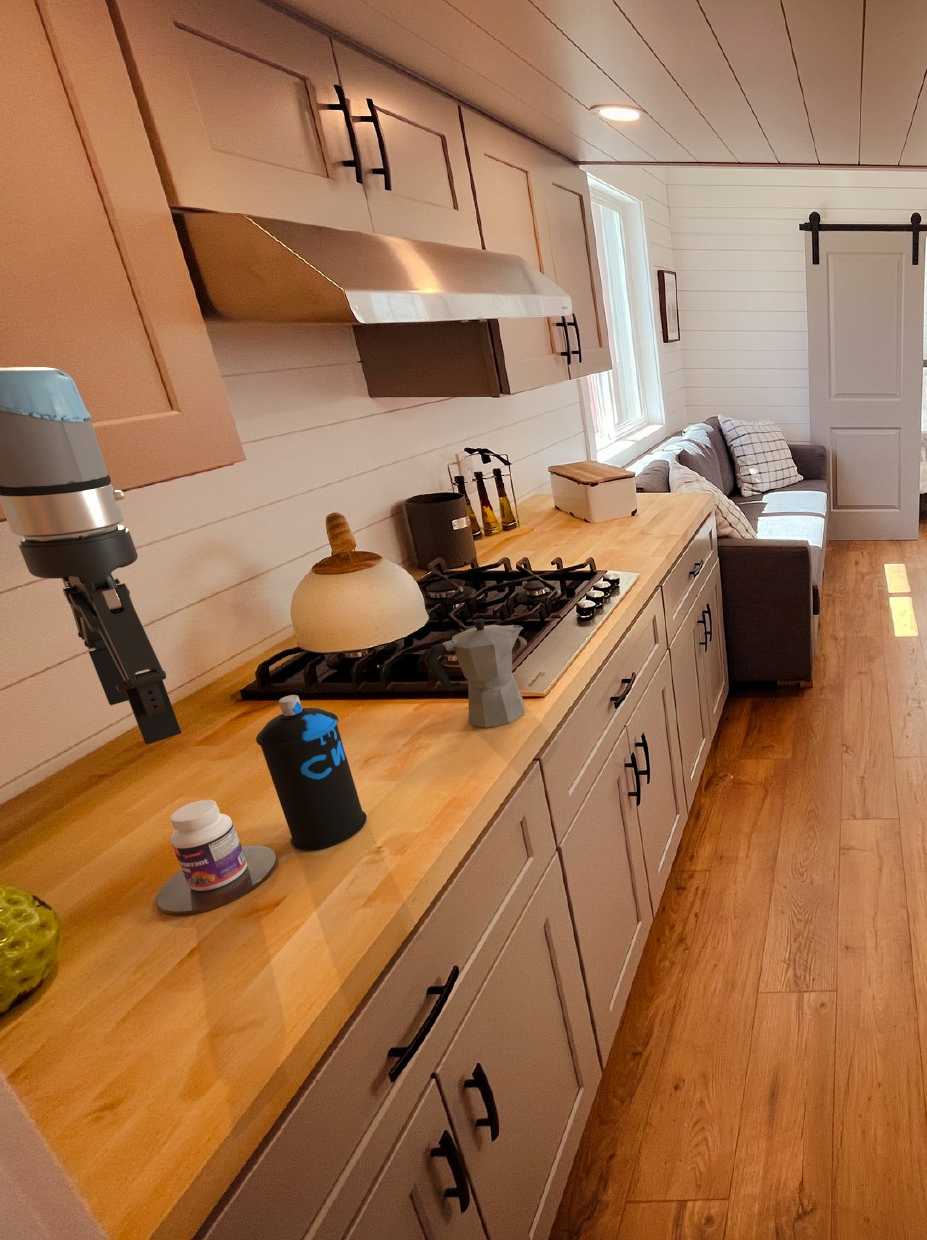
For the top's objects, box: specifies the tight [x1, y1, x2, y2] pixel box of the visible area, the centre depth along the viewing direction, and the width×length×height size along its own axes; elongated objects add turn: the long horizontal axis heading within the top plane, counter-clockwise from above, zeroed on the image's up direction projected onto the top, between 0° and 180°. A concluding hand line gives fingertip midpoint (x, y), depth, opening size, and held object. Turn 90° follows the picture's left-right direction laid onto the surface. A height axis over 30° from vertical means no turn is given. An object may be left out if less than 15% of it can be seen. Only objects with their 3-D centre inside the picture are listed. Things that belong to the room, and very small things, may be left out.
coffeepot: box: [424, 618, 526, 729], centre depth 118 cm, size 15×9×18 cm, turn 139°
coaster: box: [155, 844, 279, 917], centre depth 85 cm, size 11×11×1 cm
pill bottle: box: [170, 799, 247, 891], centre depth 84 cm, size 5×5×10 cm
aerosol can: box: [255, 694, 368, 851], centre depth 91 cm, size 8×8×20 cm
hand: (144, 718), depth 77 cm, fingers open, 13 cm apart
